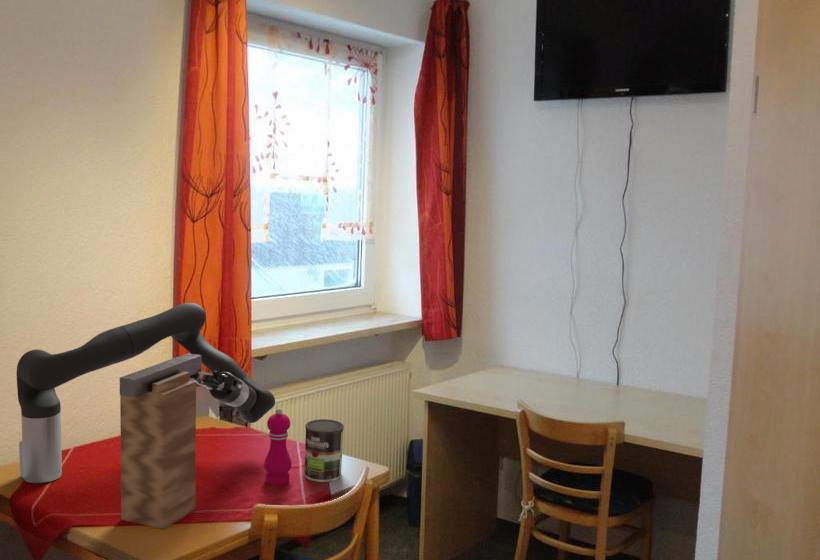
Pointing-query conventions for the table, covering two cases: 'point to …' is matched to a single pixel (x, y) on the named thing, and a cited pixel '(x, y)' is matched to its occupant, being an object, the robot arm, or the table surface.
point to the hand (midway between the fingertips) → (199, 372)
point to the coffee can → (323, 450)
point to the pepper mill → (278, 450)
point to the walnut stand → (159, 453)
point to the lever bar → (158, 374)
